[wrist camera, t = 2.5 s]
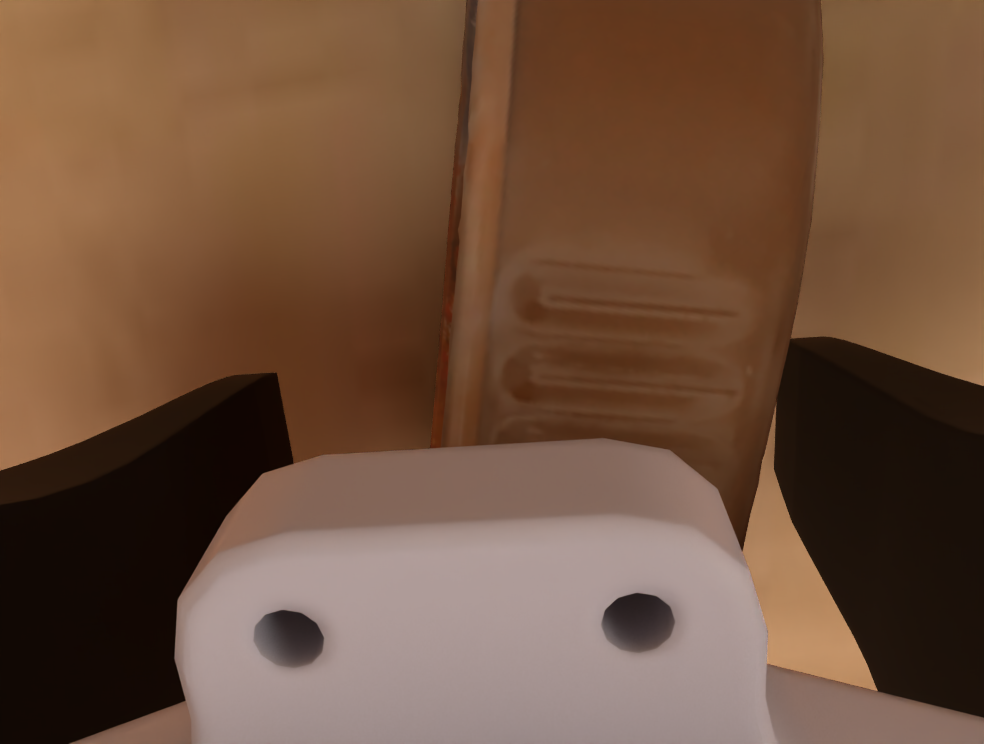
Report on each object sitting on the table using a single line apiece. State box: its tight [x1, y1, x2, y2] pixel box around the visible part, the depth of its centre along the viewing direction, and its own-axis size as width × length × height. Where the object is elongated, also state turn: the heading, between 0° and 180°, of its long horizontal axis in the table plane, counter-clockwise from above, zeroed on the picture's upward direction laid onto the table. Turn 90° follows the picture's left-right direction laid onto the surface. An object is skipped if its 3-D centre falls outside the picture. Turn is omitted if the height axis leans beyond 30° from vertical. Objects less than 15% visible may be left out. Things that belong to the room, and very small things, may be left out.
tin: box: [430, 0, 823, 551], centre depth 11 cm, size 15×3×8 cm, turn 174°
